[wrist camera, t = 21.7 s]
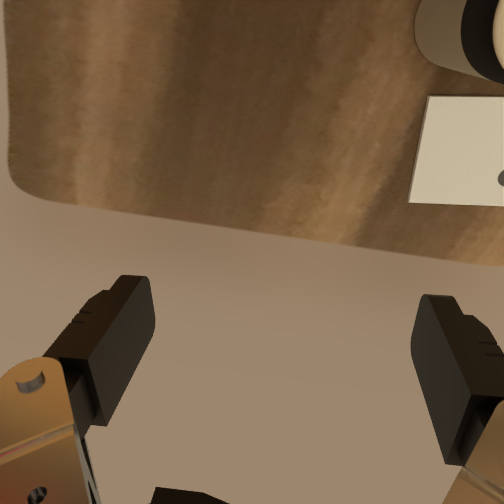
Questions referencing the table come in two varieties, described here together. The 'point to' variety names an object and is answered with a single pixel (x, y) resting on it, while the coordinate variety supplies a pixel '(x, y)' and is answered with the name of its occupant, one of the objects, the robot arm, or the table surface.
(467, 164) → the two-dot pad
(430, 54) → the travel mug
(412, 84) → the table surface
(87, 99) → the table surface
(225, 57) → the table surface
